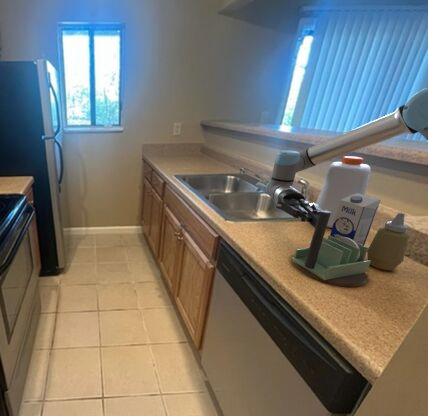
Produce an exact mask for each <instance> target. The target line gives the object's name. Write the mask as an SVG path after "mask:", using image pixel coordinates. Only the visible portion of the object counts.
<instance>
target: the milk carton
mask: <svg viewBox="0 0 428 416" xmlns="http://www.w3.org/2000/svg"><path fill="white" fill-rule="evenodd" d="M381 201H382V199H381V198H378V197H375V196H370V195H367V194H365V195H363V194H360V193H356V194H352V195H350V196H348V197H346V198H343V199H341V201H340V204H339V207H338V210H337V214H336V217H335V220H334V223H333V226H332V228H331V230H330V233H329V235H330V236H332V237H334V238H335V237H336V234H338V235H340V236H342V237H347V238H350V239H352V240H353V241H354V242H356V243H359V244H361V245H363V246H365V244H366V242H367V239H368V236H369V234H370V231H371V228H372V225H373V223H374V220H375V217H376V214H377V212H378V209H379V206H380V203H381Z"/></svg>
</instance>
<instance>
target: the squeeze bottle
mask: <svg viewBox="0 0 428 416" xmlns="http://www.w3.org/2000/svg"><path fill="white" fill-rule="evenodd" d="M405 214H406V213H405V212H402V211H399V212H398V213H397V214H396V215H395V217H394V218H393V219H392V220H390V221H386V222H385V224H384V227H383V226H382V227H380V228H378V230H377V232H376V234H375V236H374V237H373V239H372V241H371V243H370V244H369V246H368V251H367V253H366V255H367V260H370V261H371V263H370V265H369V266H372V267H374V268H376V269H379V270H383V271H394V270H395V269H396V268H397V267H399V265H401V263H403V262H404V258H405V255H406V251H407V248H408V244H409V239H410V234H409V233H408V229H409V225H408V224H405Z"/></svg>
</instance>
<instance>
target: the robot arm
mask: <svg viewBox="0 0 428 416" xmlns="http://www.w3.org/2000/svg"><path fill="white" fill-rule="evenodd" d="M417 133H419V134H421V136H423V138H424V139H426V140H427V141H428V86H426V87H424V88H422V89H421V90H419V91H417V92H415V94H413V95H411V97H410V98H409V99H408V100H407V101H406V102H405V104H403V105H400V106H398V107H397V108H396V110H395V111H394V112H392V113H389V114H387V115H385V116H382V117H380V118H378V119H375V120H372V121H370V122H368V123H365V124H363V125H361V126H359V127H356V128H353V129H351V130H349V131H346V132H344V133H341V134H339V135H337V136H334V137H332V138H329V139H327V140H324V141H322V142H319V143H317V144H315V145H312V146H310V147H307V148H305V149H303V150H299V151H296V150H287V149H286V150H279V151H277V153H276V156H275V159H274V165H273V170H272V174H271V178H270V180H269V181H268V182H267V184H266V185H265V191H266V193H267V194H268V196H269V197H270V198H272V199H273V200H274V202H276V206H275V208H276V209H278V210H281V211H283V212H284V213H286V214H287V215H289V216H290V217H291V216H292V217H293V218H294V219H299V218H300V222H307V223H309V224H310V225H311V226H312V227H313V228H315V227H316V224H317V220H318V217H319V213H320V211H321V209H320V207H319V203H317V202H315V203H310V201H308V200H306V198H305V195H303V194H302V193H301V192H300V191H299V190H297V189H296V188H294V187H293V185H294V182H295V179H296V178H295V177H296V174H297V173H300V172H302V171H306V170H308V169H310V168H314V167H315V166H318V165H321V164H325V163H326V162H329V161H332V160H335V159H337V158H341V157H344V156H347V155H349V154H352V153H355V152H358V151H360V150H362V149H366V148H368V147H371V146H374V145H378V144H380V143H383V142H386V141H388V140H391V139H393V138H397V137H400V136H403V135H406V134H408V135H414V134H417Z"/></svg>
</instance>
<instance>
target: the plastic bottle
mask: <svg viewBox="0 0 428 416" xmlns="http://www.w3.org/2000/svg"><path fill="white" fill-rule="evenodd" d="M363 161H364V158H363V157H360V156H352V155H344V156H342V158H341V161H333V162H332V163H331V164H330V166H329V167H328V170H327V173H326V176H325V178H324V181H323V184H322V187H321V189H320V192H319V194H318V197H317V200H316V203H319V207H320V209H321V210H326V211H330V212H331V214H330V218H329V221H328V224H327V227H326V228H330V229H332V226H333V223H334V220H335V217H336V214H337V210H338V207H339V204H340V201H341V199H343V198H346V197H348V196H350V195H352V194H356V193H360V194H363V195H366V194H367V189H368V185H369V182H370V177H371V172H372V170H371V169H372V168H371V166H370V165H369V164H366V163H363Z"/></svg>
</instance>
